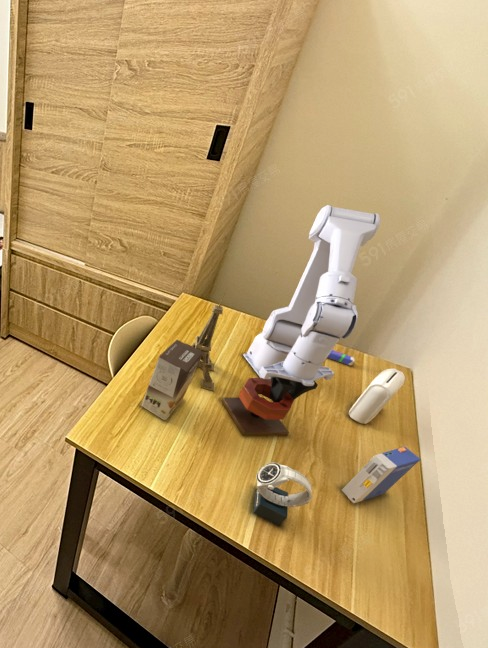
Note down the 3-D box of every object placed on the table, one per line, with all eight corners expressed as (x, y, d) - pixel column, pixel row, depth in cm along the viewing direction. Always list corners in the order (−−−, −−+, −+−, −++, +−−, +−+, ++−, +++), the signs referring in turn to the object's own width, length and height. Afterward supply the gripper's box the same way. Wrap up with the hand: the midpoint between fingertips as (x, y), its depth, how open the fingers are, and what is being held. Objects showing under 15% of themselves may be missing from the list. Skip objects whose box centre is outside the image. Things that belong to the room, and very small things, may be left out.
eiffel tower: (171, 352, 112) (200, 276, 98) (213, 364, 108) (249, 287, 94) (168, 377, 104) (199, 299, 90) (213, 391, 100) (252, 311, 86)
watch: (244, 484, 80) (267, 451, 74) (291, 506, 77) (319, 473, 71) (241, 507, 76) (265, 474, 70) (291, 532, 73) (320, 499, 67)
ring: (232, 387, 95) (237, 377, 93) (270, 388, 95) (276, 378, 93) (253, 419, 87) (259, 409, 85) (295, 420, 87) (302, 409, 86)
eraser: (351, 366, 109) (355, 361, 108) (324, 357, 112) (327, 352, 111) (350, 362, 110) (354, 357, 109) (324, 353, 113) (328, 348, 112)
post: (221, 400, 98) (230, 383, 95) (261, 401, 98) (271, 384, 95) (242, 435, 90) (253, 418, 86) (286, 435, 90) (299, 418, 87)
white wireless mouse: (361, 396, 100) (390, 360, 93) (382, 408, 97) (414, 372, 90) (343, 414, 95) (373, 378, 88) (365, 427, 92) (397, 390, 85)
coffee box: (165, 422, 92) (186, 372, 83) (140, 406, 96) (157, 356, 87) (182, 400, 98) (204, 351, 89) (158, 386, 102) (176, 338, 92)
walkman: (369, 481, 81) (405, 445, 75) (383, 494, 79) (422, 458, 72) (339, 490, 80) (373, 453, 73) (353, 503, 77) (389, 467, 71)
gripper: (285, 368, 79) (257, 413, 87) (357, 368, 80) (323, 413, 87) (264, 344, 85) (240, 388, 93) (332, 345, 85) (302, 389, 93)
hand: (279, 399), depth 90 cm, fingers closed on ring, 2 cm apart
